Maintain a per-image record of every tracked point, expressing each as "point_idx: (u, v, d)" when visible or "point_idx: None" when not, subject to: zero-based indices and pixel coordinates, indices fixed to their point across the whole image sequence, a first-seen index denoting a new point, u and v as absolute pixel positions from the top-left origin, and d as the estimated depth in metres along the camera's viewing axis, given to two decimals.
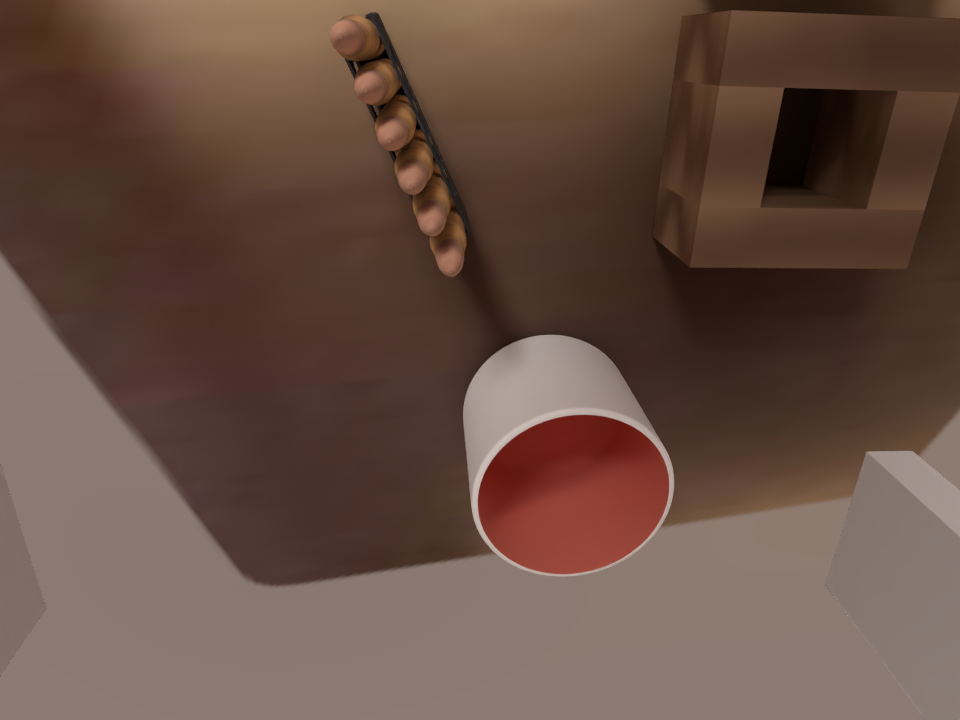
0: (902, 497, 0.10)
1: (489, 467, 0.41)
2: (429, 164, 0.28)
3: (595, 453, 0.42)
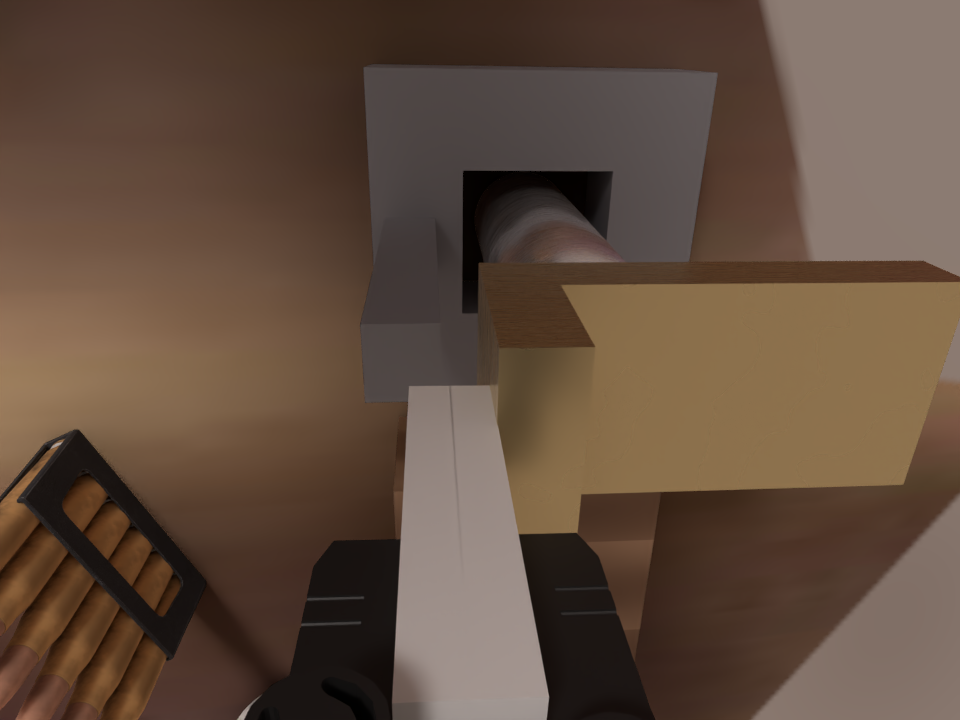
0: (450, 420, 0.11)
1: None
2: (80, 659, 0.27)
3: None
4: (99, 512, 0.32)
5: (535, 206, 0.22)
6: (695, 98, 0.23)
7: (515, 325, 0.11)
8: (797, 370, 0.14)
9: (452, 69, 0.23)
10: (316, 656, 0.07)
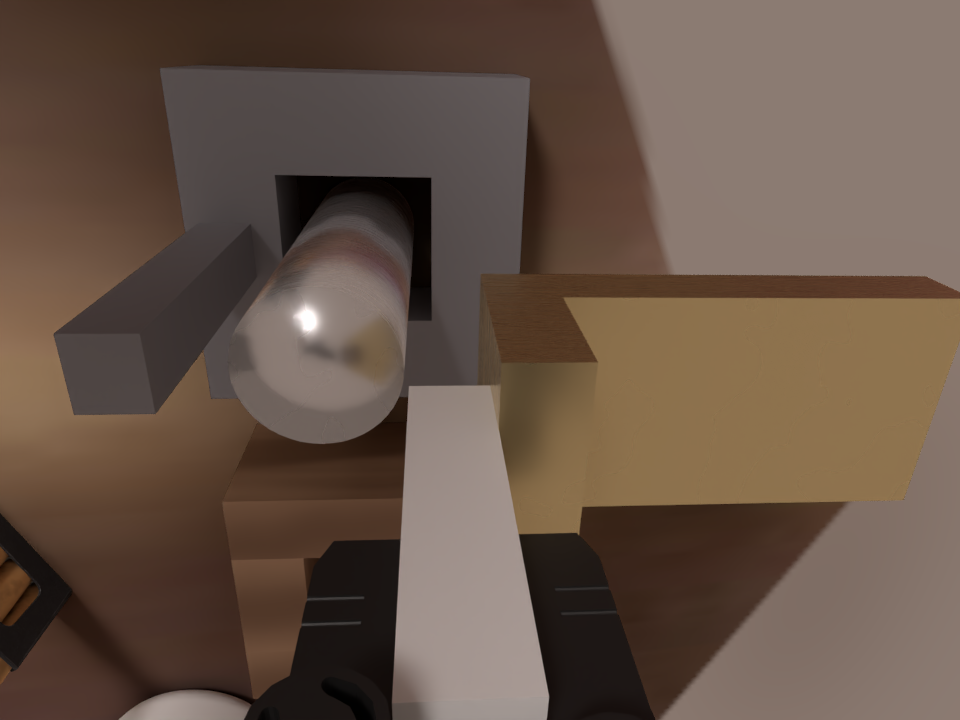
0: (450, 420, 0.11)
1: None
2: None
3: None
4: None
5: (333, 212, 0.22)
6: (509, 104, 0.23)
7: (518, 338, 0.11)
8: (799, 385, 0.14)
9: (253, 71, 0.22)
10: (316, 656, 0.07)
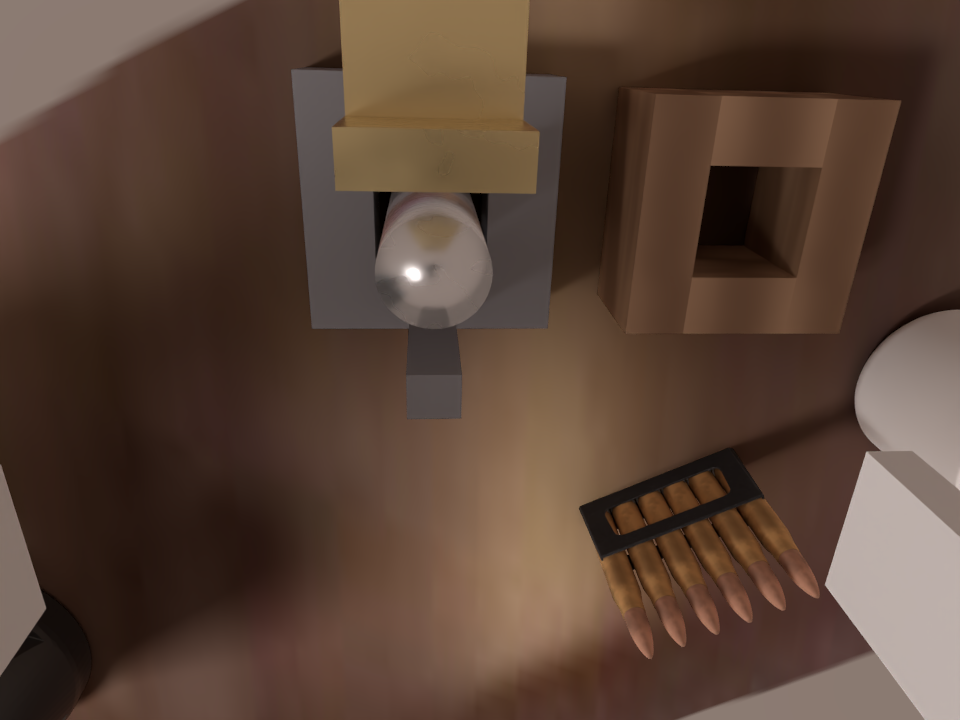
0: (901, 497, 0.10)
1: None
2: (718, 559, 0.37)
3: None
4: (640, 509, 0.43)
5: None
6: (311, 86, 0.29)
7: None
8: None
9: (308, 272, 0.33)
10: None
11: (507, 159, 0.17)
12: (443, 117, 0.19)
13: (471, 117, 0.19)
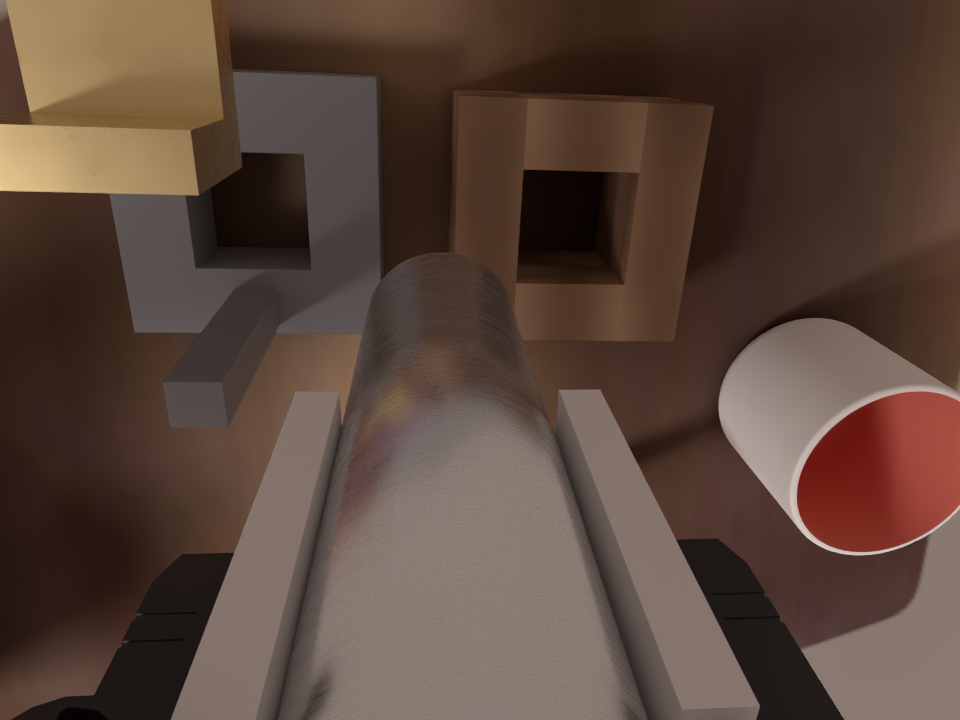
0: (568, 425, 0.11)
1: (844, 450, 0.42)
2: None
3: None
4: None
5: None
6: None
7: None
8: None
9: (125, 274, 0.32)
10: (126, 678, 0.07)
11: (161, 158, 0.16)
12: (136, 115, 0.18)
13: (167, 115, 0.18)
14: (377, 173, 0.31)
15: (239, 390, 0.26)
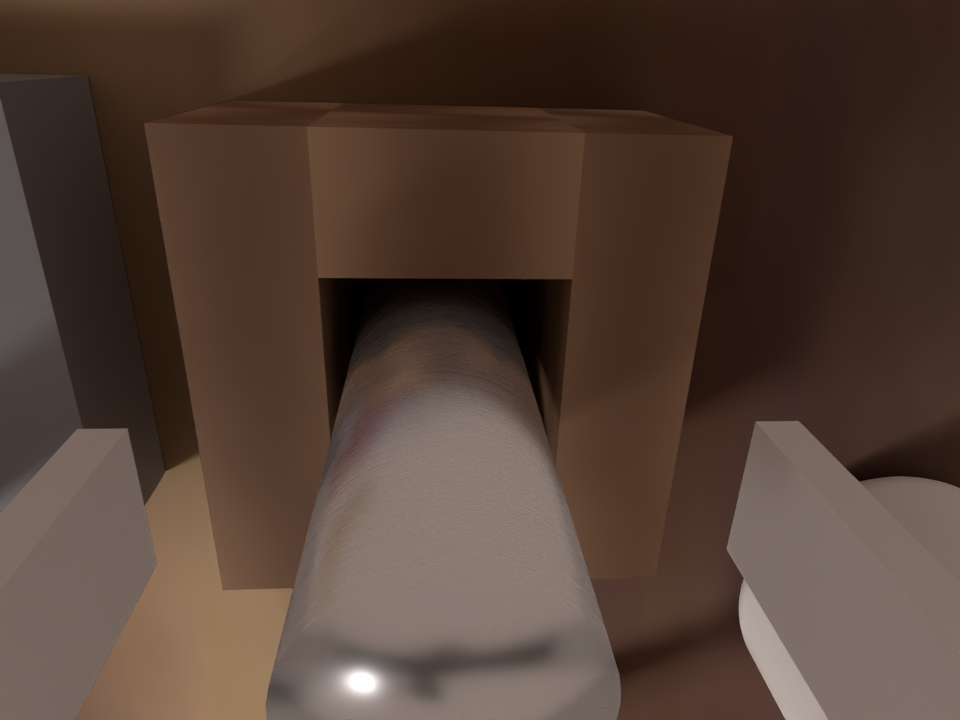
0: (780, 461, 0.11)
1: None
2: None
3: None
4: None
5: None
6: None
7: None
8: None
9: None
10: None
11: None
12: None
13: None
14: (44, 276, 0.15)
15: None
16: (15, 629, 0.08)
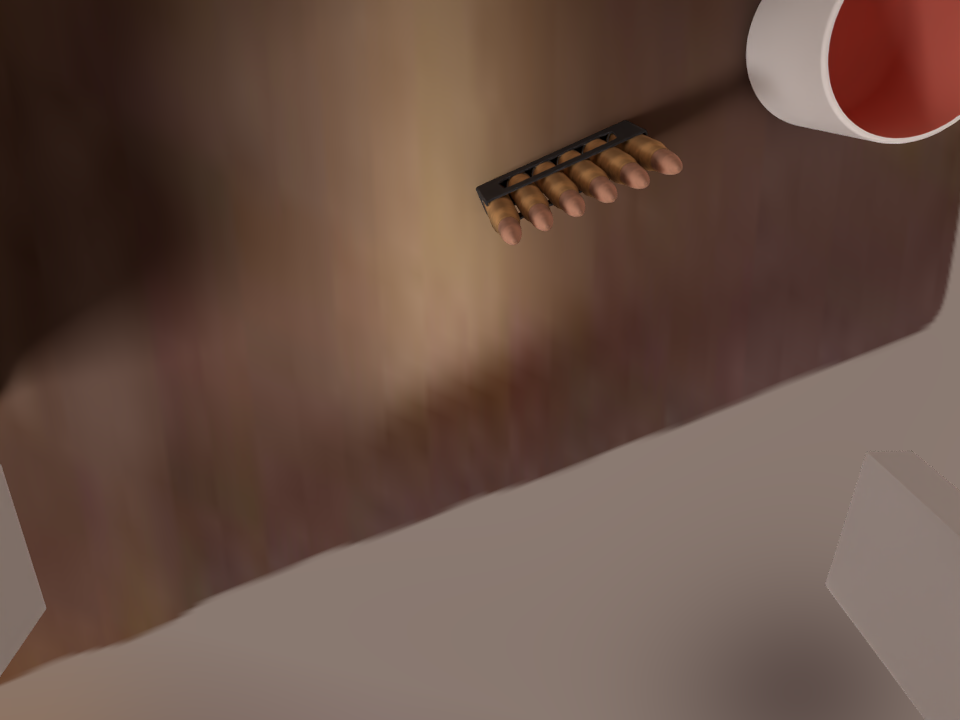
0: (901, 497, 0.10)
1: (873, 102, 0.42)
2: (593, 171, 0.37)
3: None
4: None
5: None
6: None
7: None
8: None
9: None
10: None
11: None
12: None
13: None
14: None
15: None
16: None
